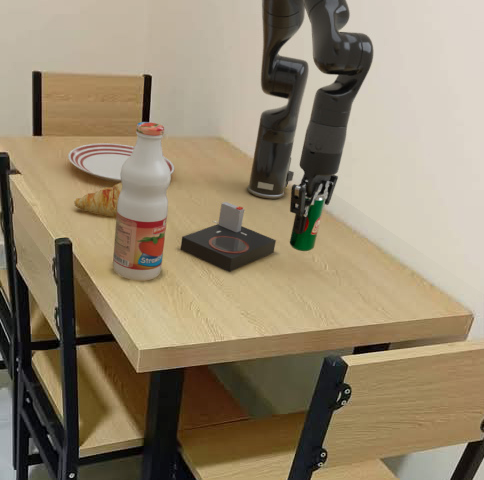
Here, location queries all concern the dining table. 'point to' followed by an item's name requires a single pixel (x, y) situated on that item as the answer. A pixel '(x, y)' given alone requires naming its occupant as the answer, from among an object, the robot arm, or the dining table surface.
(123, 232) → the strawberry milk bottle
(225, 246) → the hot plate ring
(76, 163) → the dinner plate
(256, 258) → the cooker
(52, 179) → the dining table surface
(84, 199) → the croissant
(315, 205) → the soda can
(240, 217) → the cooker dial
